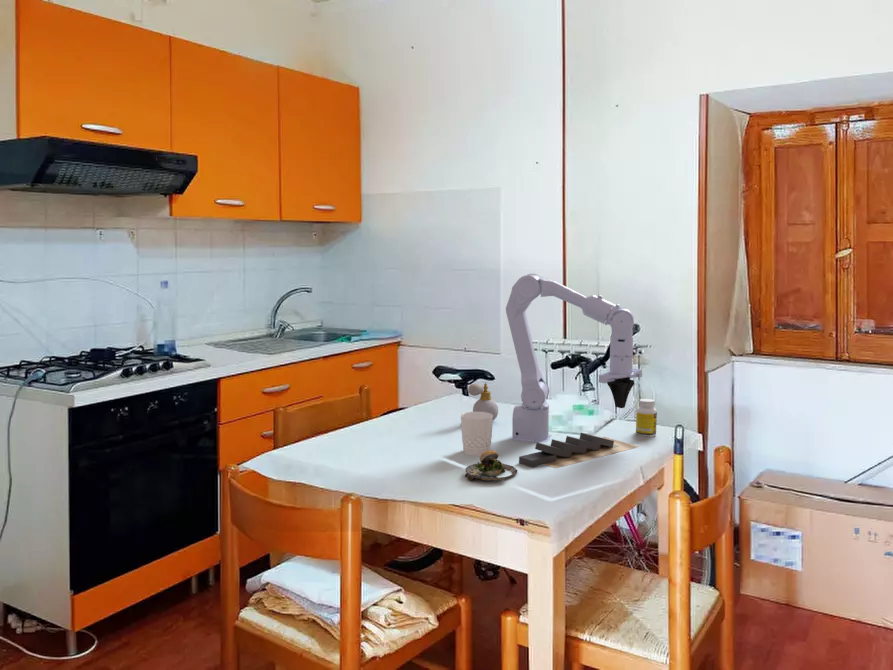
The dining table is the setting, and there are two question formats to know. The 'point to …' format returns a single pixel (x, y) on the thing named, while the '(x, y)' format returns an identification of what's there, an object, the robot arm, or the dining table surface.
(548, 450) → the domino
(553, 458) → the domino
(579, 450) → the domino
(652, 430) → the supplement bottle
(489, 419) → the white cup
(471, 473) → the burger
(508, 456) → the dining table surface
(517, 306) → the robot arm
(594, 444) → the domino
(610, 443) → the domino
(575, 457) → the oak board
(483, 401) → the perfume bottle
